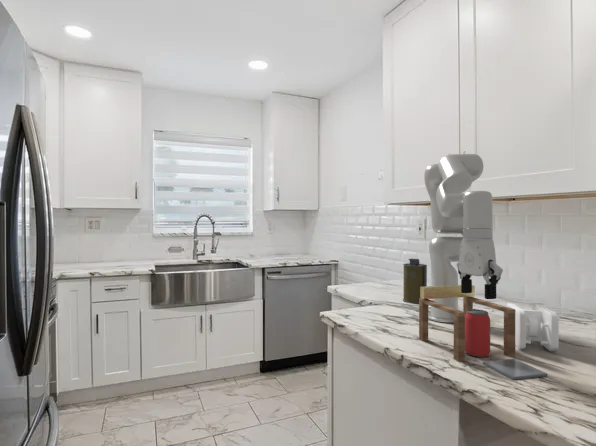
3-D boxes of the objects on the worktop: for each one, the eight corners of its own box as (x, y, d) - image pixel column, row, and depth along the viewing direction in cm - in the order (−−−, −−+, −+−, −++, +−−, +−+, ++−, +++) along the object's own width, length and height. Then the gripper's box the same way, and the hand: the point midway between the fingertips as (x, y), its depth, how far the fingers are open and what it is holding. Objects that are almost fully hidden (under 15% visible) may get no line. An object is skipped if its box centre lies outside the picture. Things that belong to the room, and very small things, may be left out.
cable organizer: (504, 336, 122) (504, 301, 122) (540, 339, 119) (540, 302, 119) (519, 352, 107) (519, 311, 107) (561, 355, 105) (561, 314, 105)
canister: (398, 301, 177) (398, 258, 177) (410, 298, 184) (410, 257, 184) (419, 304, 169) (419, 260, 169) (431, 301, 176) (431, 259, 176)
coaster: (482, 363, 98) (482, 361, 98) (514, 360, 100) (514, 358, 100) (512, 379, 88) (512, 377, 88) (547, 375, 90) (547, 373, 90)
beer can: (468, 357, 103) (468, 313, 103) (461, 349, 109) (461, 308, 109) (494, 358, 102) (494, 314, 102) (485, 350, 108) (485, 309, 108)
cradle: (419, 339, 119) (419, 298, 119) (468, 335, 123) (468, 295, 123) (458, 361, 100) (458, 312, 100) (515, 356, 104) (515, 309, 104)
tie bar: (420, 297, 118) (420, 286, 118) (470, 295, 122) (470, 284, 122) (424, 299, 116) (424, 287, 116) (474, 296, 120) (474, 285, 120)
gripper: (447, 234, 113) (447, 291, 113) (488, 235, 96) (488, 302, 96) (468, 234, 115) (469, 290, 114) (512, 235, 98) (513, 301, 97)
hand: (478, 295), depth 105 cm, fingers open, 9 cm apart
